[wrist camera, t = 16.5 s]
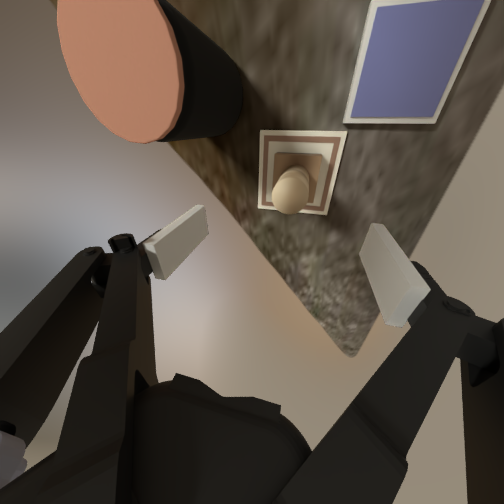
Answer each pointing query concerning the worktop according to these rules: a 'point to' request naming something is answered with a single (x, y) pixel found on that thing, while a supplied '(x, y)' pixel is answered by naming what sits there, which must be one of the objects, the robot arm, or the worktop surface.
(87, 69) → the coffee jar
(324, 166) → the print card
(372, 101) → the ink pad
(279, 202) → the stamp
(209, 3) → the worktop surface
